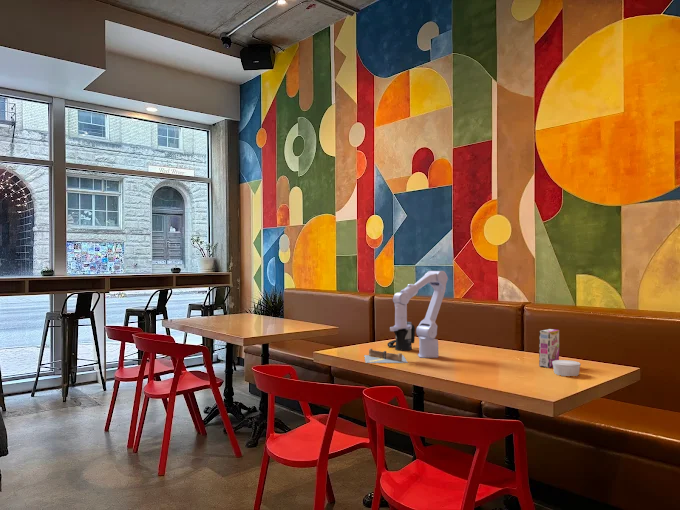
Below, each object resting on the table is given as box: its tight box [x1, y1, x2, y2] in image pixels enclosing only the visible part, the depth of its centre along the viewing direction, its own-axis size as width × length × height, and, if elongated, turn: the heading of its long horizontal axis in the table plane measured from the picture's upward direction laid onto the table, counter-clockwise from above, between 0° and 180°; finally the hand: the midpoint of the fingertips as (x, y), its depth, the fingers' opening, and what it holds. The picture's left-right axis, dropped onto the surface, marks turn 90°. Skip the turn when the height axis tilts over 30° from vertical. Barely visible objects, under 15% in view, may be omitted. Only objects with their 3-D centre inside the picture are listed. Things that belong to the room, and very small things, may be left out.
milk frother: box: [387, 321, 416, 352], centre depth 286 cm, size 14×16×15 cm
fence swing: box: [386, 352, 403, 361], centre depth 251 cm, size 9×2×3 cm, turn 45°
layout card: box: [363, 354, 408, 364], centre depth 255 cm, size 20×19×1 cm
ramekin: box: [552, 359, 581, 377], centre depth 220 cm, size 11×11×5 cm
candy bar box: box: [538, 328, 560, 369], centre depth 238 cm, size 11×5×16 cm, turn 134°
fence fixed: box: [368, 348, 387, 359], centre depth 259 cm, size 2×11×4 cm, turn 45°
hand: (400, 344), depth 253 cm, fingers closed
